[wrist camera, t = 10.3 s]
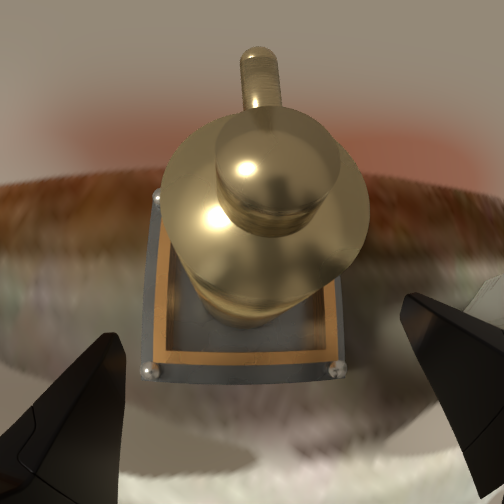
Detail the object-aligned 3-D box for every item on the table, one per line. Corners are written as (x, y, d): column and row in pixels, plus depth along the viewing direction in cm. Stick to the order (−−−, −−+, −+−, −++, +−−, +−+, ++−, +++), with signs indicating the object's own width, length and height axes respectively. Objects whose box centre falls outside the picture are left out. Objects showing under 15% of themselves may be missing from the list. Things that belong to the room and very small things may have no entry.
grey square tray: (318, 215, 21) (341, 179, 17) (327, 374, 18) (360, 380, 13) (162, 212, 20) (147, 174, 16) (154, 375, 17) (130, 384, 12)
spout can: (296, 322, 16) (444, 254, 4) (203, 334, 15) (136, 293, 4) (280, 224, 18) (352, 48, 6) (193, 232, 17) (152, 47, 6)
